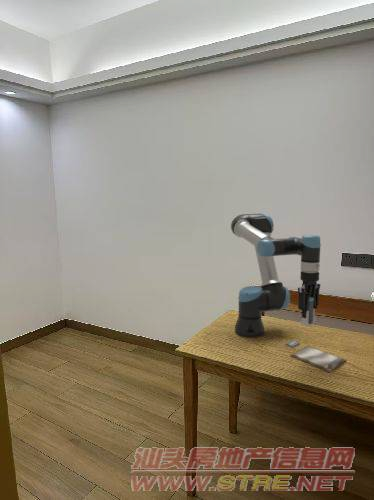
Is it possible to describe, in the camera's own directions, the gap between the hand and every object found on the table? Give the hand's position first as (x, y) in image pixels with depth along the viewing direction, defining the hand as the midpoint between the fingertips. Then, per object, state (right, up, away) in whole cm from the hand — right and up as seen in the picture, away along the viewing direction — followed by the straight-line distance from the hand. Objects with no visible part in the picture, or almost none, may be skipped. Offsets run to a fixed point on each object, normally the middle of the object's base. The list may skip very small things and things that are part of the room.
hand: (308, 323), depth 146 cm
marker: (0, 0, 0) cm, 0 cm away
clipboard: (+4, -15, -2) cm, 15 cm away
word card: (-3, -13, +12) cm, 18 cm away
